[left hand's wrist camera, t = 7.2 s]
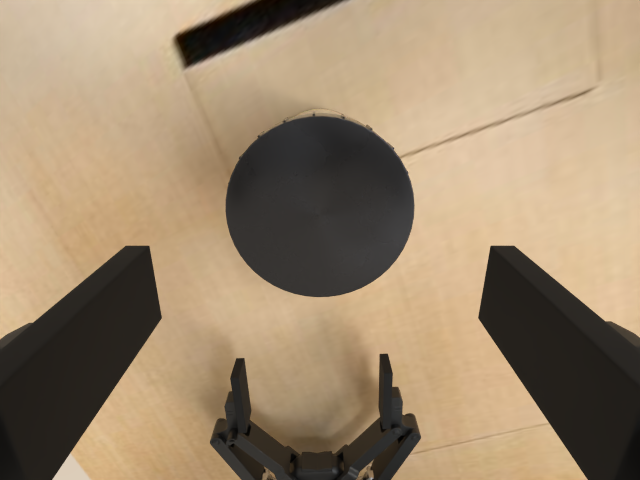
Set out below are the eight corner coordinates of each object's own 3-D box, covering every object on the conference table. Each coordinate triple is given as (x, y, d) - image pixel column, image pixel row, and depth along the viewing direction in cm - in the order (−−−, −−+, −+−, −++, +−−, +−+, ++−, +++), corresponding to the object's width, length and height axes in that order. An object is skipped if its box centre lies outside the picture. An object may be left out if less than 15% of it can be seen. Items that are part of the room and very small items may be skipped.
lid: (203, 150, 21) (189, 158, 19) (375, 82, 20) (382, 81, 18) (274, 298, 25) (269, 319, 22) (425, 247, 23) (436, 264, 21)
